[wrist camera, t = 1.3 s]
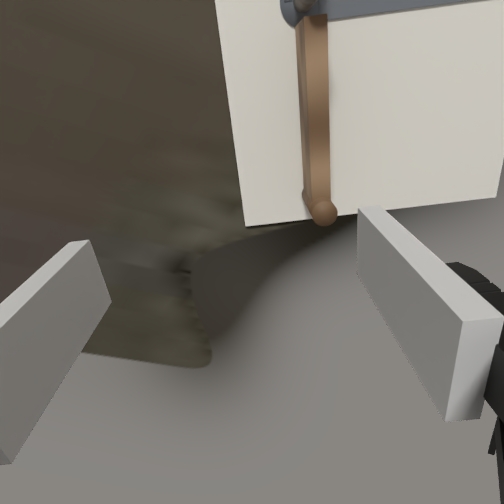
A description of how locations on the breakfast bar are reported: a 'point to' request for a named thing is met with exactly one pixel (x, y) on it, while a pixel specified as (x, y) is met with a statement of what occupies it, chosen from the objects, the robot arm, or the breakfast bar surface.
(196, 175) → the breakfast bar surface
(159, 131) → the breakfast bar surface
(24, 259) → the breakfast bar surface
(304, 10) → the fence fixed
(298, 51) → the bar
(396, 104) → the card
